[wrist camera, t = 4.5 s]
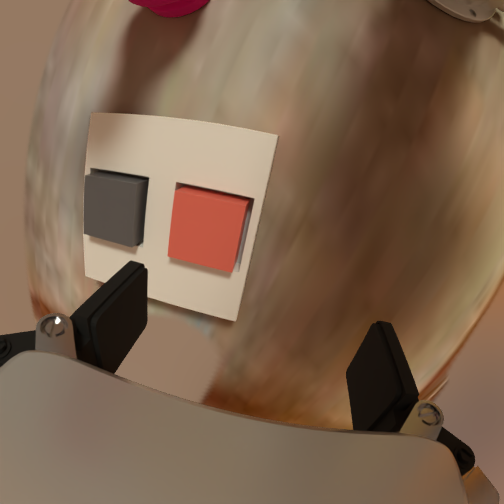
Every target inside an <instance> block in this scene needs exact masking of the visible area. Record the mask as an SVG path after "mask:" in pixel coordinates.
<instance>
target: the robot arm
mask: <svg viewBox="0 0 504 504" xmlns="http://www.w3.org/2000/svg"><path fill="white" fill-rule="evenodd" d="M428 1H429V2H430V3H432V4H433V5H434V6H436V7H438V8H439V9H441V10H442V11H444V12H446V13H448V14H450V15H452V16H454V17H456V18H458V19H461V20H464V21H468V22H473V23H477V22H483V21H485V20H488V19H489V18H491V17H492V16H493V15H494V13H495V11H496V8H497V9H499V10H500V11H502V12H504V0H428ZM147 291H148V269H147V268H145V266H144V264H143V263H139V262H136V261H132V260H131V261H129V262H128V263H127V264H126V265H124V266H123V267H122V268H121V269H120V270H119V271H118V272H117V273H116V274H114V275H113V276H112V277H111V278H110V279H109V280H108V281H107V282H106V283H105V284H103V285H102V286H101V287H100V288H99V289H98V290H97V291H96V292H95V293H94V294H93V295H92V296H91V297H90V298H89V299H87V300H86V301H85V302H84V303H83V304H82V305H81V306H80V307H79V308H78V309H77V310H76V311H75V312H74V313H73V314H72V315H71V316H70V317H67V316H66V315H64V314H60V313H53V314H48V315H46V316H44V317H42V318H41V319H40V320H39V321H38V323H37V326H36V330H34V331H28V332H20V333H14V334H6V335H0V504H499V493H498V491H497V490H496V488H495V487H494V486H493V485H492V483H491V482H490V481H489V479H488V478H487V477H486V476H485V474H484V473H483V472H482V470H481V469H480V468H479V467H478V466H477V467H474V464H475V456H474V453H473V451H472V450H471V448H470V447H469V446H467V445H466V444H465V443H463V442H462V441H461V440H459V439H458V438H457V437H455V436H454V435H453V434H451V433H450V432H449V431H447V430H446V429H444V428H443V427H442V425H443V421H444V416H443V413H442V411H441V409H440V408H439V407H438V406H437V405H436V404H435V403H433V402H431V401H428V400H421V401H419V400H418V395H419V392H418V390H417V387H416V384H415V381H414V378H413V376H412V373H411V370H410V368H409V365H408V363H407V360H406V357H405V355H404V352H403V350H402V347H401V345H400V342H399V340H398V338H397V335H396V333H395V331H394V328H393V326H392V324H391V323H389V322H384V321H377V322H376V323H373V324H372V325H371V327H370V329H369V331H368V333H367V334H366V336H365V338H364V340H363V342H362V344H361V346H360V347H359V349H358V351H357V353H356V355H355V356H354V358H353V360H352V362H351V363H350V365H349V367H348V369H347V372H346V379H347V385H348V392H349V399H350V407H351V414H352V423H353V430H345V429H333V428H323V427H314V426H306V425H299V424H292V423H286V422H280V421H274V420H268V419H263V418H258V417H253V416H248V415H244V414H239V413H235V412H230V411H226V410H222V409H218V408H214V407H211V406H207V405H203V404H200V403H196V402H193V401H189V400H186V399H183V398H179V397H176V396H173V395H170V394H167V393H164V392H161V391H158V390H155V389H152V388H149V387H147V386H144V385H141V384H139V383H136V382H133V381H131V380H128V379H125V378H123V377H120V376H118V375H115V374H114V373H115V372H116V370H117V369H118V367H119V366H120V364H121V363H122V361H123V360H124V358H125V357H126V355H127V354H128V352H129V351H130V349H131V348H132V346H133V345H134V343H135V342H136V340H137V339H138V338H139V336H140V335H141V333H142V332H143V330H144V329H145V327H146V324H147Z"/></svg>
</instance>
